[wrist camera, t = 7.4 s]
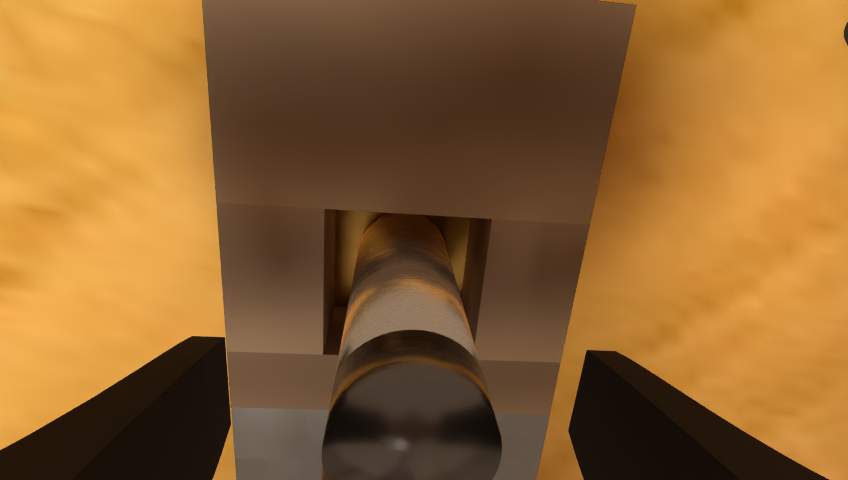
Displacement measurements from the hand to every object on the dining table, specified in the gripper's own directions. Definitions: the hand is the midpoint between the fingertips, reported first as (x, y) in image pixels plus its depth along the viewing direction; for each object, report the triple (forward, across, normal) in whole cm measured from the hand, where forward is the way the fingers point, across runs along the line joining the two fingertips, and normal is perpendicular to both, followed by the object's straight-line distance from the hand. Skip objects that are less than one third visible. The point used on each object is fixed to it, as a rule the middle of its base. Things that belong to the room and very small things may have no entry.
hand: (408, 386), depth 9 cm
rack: (+7, 0, -2) cm, 7 cm away
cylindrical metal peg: (+7, 0, 0) cm, 7 cm away
